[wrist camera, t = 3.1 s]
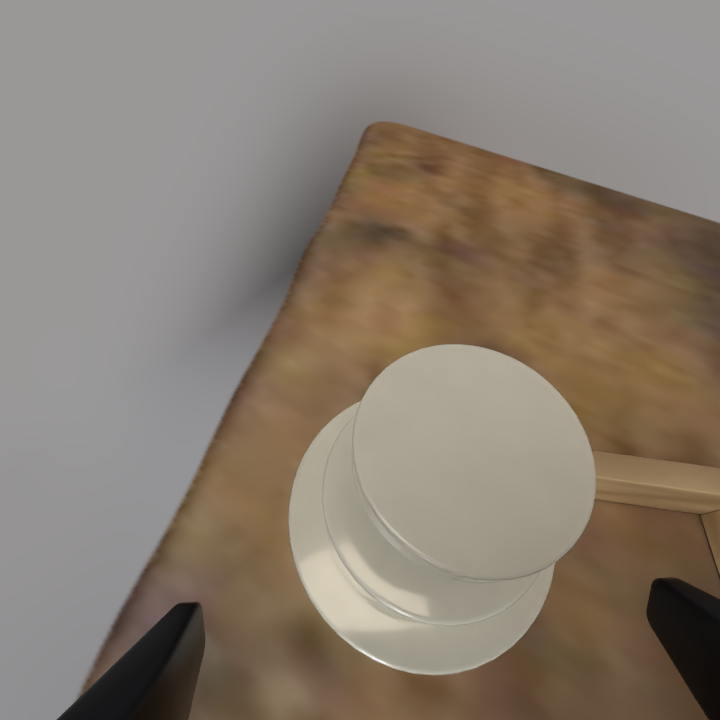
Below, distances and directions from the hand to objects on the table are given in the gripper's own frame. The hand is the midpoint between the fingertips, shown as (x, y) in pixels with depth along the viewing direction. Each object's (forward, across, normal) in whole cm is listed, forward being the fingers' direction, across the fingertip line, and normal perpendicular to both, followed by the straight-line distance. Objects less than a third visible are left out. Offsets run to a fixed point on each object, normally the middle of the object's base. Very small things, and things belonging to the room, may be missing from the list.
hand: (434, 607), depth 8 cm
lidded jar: (+8, 0, +5) cm, 9 cm away
